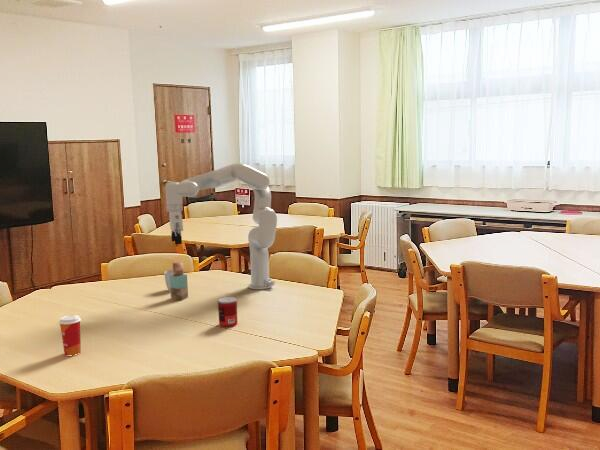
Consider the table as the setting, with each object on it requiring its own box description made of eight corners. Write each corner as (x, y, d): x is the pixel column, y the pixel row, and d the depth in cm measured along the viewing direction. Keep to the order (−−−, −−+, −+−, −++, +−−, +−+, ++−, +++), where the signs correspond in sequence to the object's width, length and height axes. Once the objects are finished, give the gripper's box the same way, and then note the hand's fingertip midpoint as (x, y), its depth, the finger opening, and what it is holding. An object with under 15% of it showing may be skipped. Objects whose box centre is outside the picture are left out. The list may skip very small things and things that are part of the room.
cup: (177, 292, 311) (176, 273, 310) (162, 292, 313) (161, 273, 311) (183, 288, 319) (182, 270, 318) (169, 288, 321) (168, 269, 319)
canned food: (240, 322, 259) (239, 297, 257) (232, 328, 252) (231, 302, 250) (224, 321, 262) (223, 296, 260) (216, 326, 254) (214, 301, 252)
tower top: (187, 286, 299) (186, 274, 298) (177, 289, 295) (176, 277, 294) (180, 284, 303) (179, 273, 302) (170, 287, 299) (169, 275, 298)
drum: (185, 274, 299) (185, 262, 298) (178, 276, 294) (178, 264, 294) (177, 273, 301) (177, 261, 300) (171, 275, 297) (170, 263, 296)
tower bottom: (188, 297, 301) (187, 285, 300) (181, 300, 296) (181, 288, 295) (177, 296, 303) (176, 285, 303) (171, 299, 298) (170, 287, 297)
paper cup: (65, 350, 230) (62, 314, 228) (85, 349, 230) (83, 313, 228) (58, 358, 222) (55, 321, 220) (80, 356, 223) (77, 320, 221)
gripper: (185, 209, 286) (187, 244, 289) (179, 205, 302) (181, 239, 305) (169, 210, 284) (171, 246, 286) (164, 206, 300) (166, 240, 302)
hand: (176, 242), depth 295 cm, fingers open, 9 cm apart
